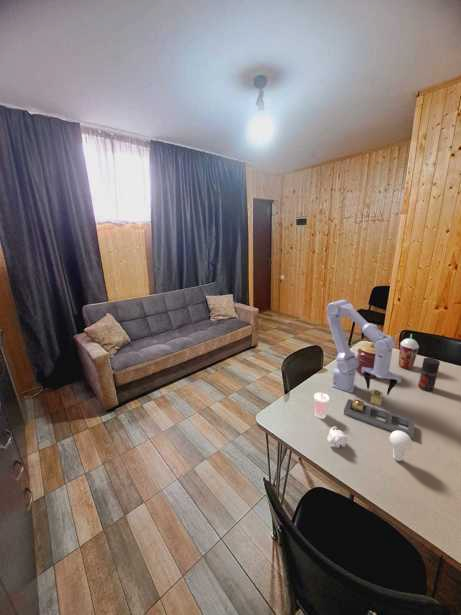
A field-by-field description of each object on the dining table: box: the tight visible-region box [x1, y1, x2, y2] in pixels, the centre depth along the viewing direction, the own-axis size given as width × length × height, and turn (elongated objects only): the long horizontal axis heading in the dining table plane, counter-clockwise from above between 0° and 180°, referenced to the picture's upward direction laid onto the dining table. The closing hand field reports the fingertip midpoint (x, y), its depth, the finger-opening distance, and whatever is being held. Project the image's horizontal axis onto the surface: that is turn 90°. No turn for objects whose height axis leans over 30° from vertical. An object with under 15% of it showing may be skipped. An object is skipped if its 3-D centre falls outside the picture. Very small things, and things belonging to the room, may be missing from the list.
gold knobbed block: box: [351, 398, 366, 414], centre depth 105 cm, size 4×4×6 cm
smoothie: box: [398, 333, 420, 370], centre depth 136 cm, size 8×8×20 cm
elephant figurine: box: [326, 425, 350, 449], centre depth 89 cm, size 7×8×6 cm
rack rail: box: [343, 398, 415, 441], centre depth 101 cm, size 24×8×2 cm, turn 53°
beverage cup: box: [313, 385, 330, 419], centre depth 103 cm, size 6×6×14 cm
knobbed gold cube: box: [370, 389, 384, 407], centre depth 111 cm, size 4×4×6 cm
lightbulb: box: [389, 430, 413, 462], centre depth 82 cm, size 6×6×11 cm
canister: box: [356, 341, 378, 379], centre depth 133 cm, size 13×13×18 cm
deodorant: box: [417, 357, 440, 393], centre depth 118 cm, size 6×6×15 cm
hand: (377, 390), depth 110 cm, fingers open, 7 cm apart
